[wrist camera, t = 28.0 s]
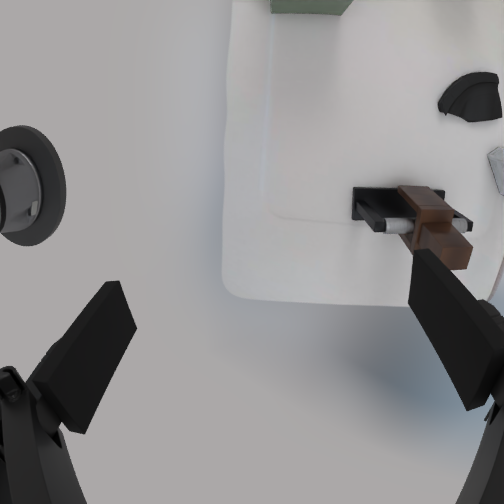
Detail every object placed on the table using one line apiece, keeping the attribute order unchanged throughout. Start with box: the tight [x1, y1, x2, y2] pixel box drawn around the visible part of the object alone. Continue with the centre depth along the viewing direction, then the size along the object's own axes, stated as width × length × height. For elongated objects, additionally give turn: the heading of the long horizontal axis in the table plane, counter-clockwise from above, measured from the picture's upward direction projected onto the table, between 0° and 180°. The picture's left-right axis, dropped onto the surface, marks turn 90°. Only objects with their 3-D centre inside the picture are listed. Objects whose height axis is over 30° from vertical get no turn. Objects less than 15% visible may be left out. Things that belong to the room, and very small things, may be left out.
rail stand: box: [352, 187, 473, 234], centre depth 41 cm, size 16×5×11 cm, turn 93°
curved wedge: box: [438, 72, 502, 122], centre depth 37 cm, size 8×14×2 cm, turn 106°
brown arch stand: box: [398, 186, 473, 270], centre depth 36 cm, size 5×6×14 cm
